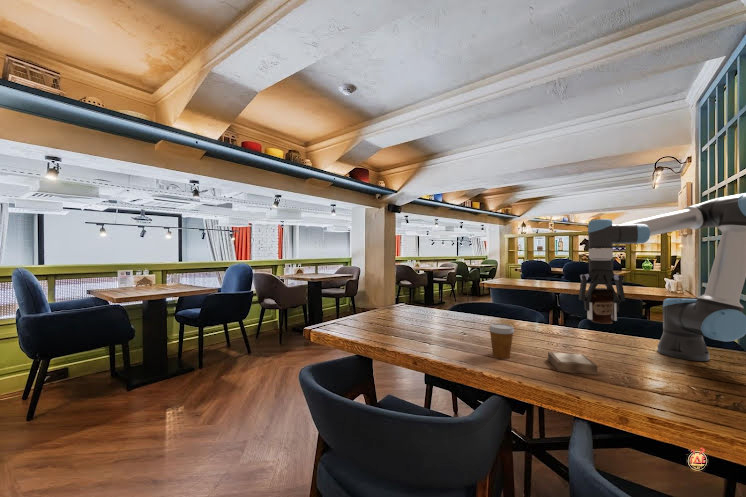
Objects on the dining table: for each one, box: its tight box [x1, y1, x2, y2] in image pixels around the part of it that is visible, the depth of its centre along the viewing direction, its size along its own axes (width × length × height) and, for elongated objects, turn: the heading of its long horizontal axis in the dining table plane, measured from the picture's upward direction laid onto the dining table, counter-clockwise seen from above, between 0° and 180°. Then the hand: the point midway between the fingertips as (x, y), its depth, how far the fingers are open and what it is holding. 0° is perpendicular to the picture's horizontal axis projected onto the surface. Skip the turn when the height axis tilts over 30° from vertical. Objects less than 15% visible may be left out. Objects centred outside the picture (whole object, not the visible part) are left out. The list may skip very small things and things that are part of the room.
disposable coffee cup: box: [488, 323, 515, 360], centre depth 126 cm, size 10×10×12 cm
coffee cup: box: [590, 287, 614, 324], centre depth 121 cm, size 9×8×13 cm
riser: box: [547, 351, 598, 376], centre depth 115 cm, size 12×12×3 cm
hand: (601, 319), depth 121 cm, fingers closed on coffee cup, 7 cm apart
